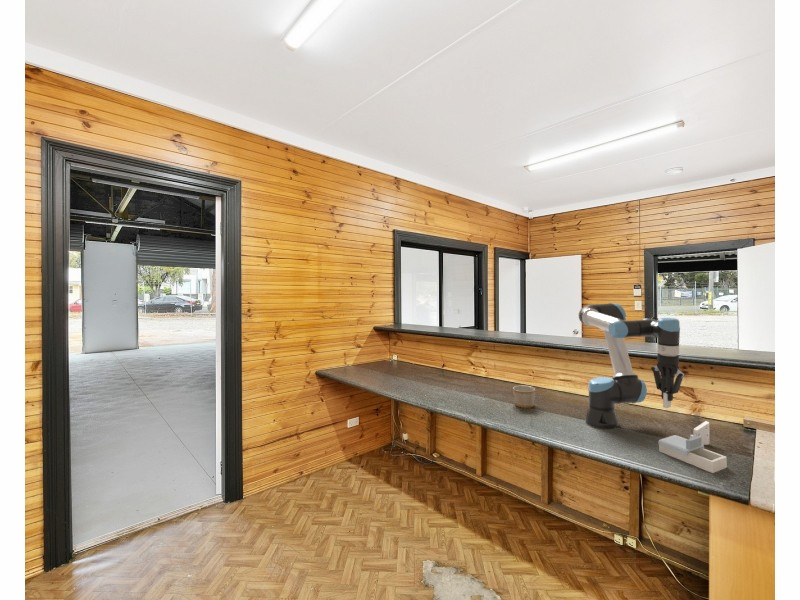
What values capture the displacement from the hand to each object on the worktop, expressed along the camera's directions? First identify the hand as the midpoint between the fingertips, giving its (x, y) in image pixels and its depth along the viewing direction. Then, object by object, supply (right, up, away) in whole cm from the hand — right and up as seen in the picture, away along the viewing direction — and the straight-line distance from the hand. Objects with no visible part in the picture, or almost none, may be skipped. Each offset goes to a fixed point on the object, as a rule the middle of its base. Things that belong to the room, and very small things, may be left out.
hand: (666, 407), depth 160 cm
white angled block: (+18, -18, +5) cm, 26 cm away
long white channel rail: (+4, -19, -8) cm, 21 cm away
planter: (-41, -17, +62) cm, 76 cm away
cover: (+3, -16, -5) cm, 17 cm away
